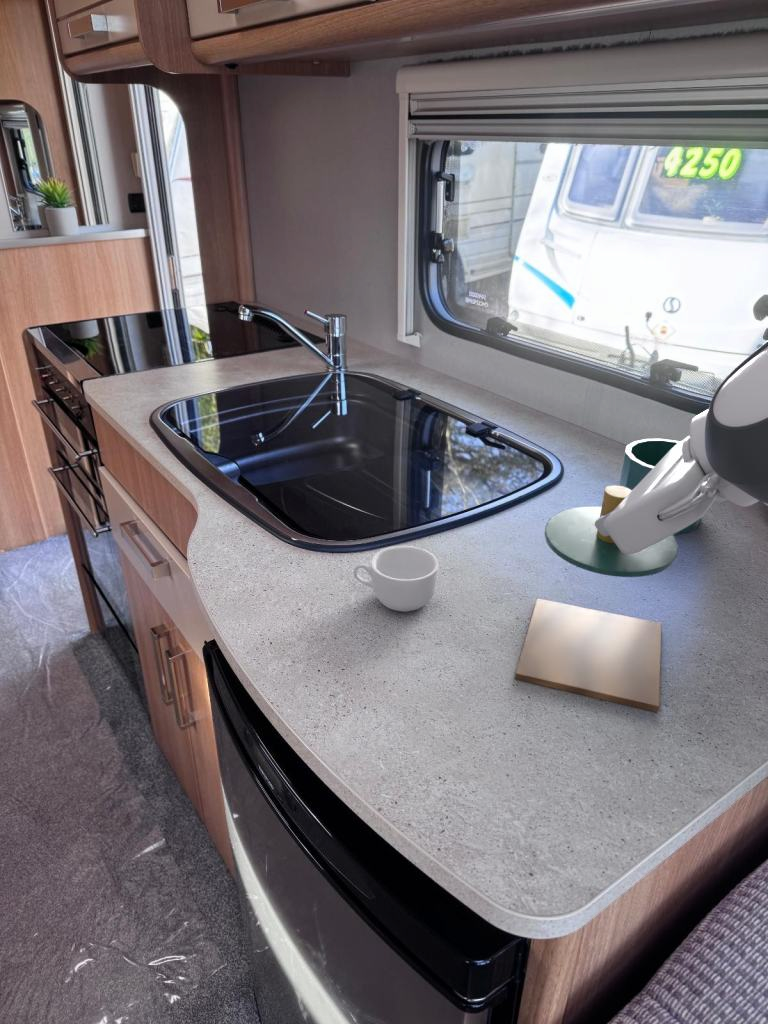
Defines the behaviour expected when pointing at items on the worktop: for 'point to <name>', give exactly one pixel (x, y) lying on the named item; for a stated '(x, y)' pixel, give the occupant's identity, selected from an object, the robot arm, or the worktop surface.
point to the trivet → (593, 654)
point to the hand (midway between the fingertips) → (608, 519)
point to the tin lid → (604, 542)
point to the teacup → (401, 577)
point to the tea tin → (646, 464)
